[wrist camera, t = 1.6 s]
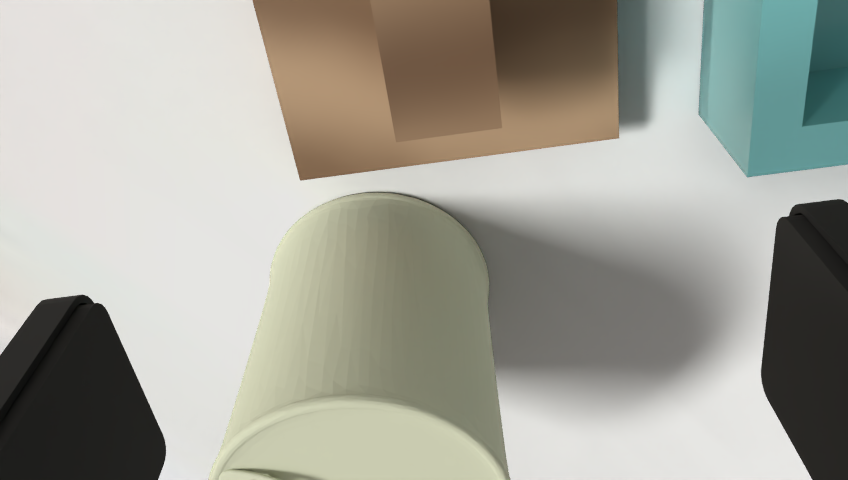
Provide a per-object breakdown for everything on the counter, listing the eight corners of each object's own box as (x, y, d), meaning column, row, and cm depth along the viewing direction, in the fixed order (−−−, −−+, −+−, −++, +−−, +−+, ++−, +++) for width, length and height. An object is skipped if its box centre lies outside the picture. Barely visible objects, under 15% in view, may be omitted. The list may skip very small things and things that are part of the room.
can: (308, 158, 29) (245, 372, 19) (525, 234, 31) (575, 467, 21) (246, 333, 34) (169, 581, 24) (439, 391, 35) (445, 644, 25)
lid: (214, -177, 23) (153, -159, 17) (606, -245, 22) (662, -246, 17) (304, 168, 29) (277, 256, 24) (613, 126, 28) (655, 209, 23)
